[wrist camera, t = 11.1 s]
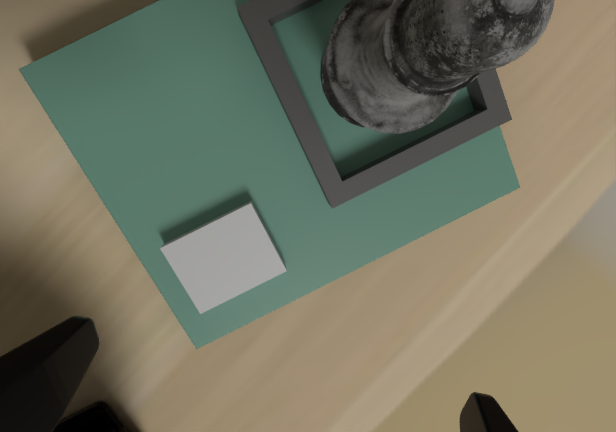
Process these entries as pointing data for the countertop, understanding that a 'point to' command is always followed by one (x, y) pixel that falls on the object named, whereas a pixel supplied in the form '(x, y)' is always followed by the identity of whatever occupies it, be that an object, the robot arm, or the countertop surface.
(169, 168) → the socket board
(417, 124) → the weathered stone pawn
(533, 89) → the countertop surface
